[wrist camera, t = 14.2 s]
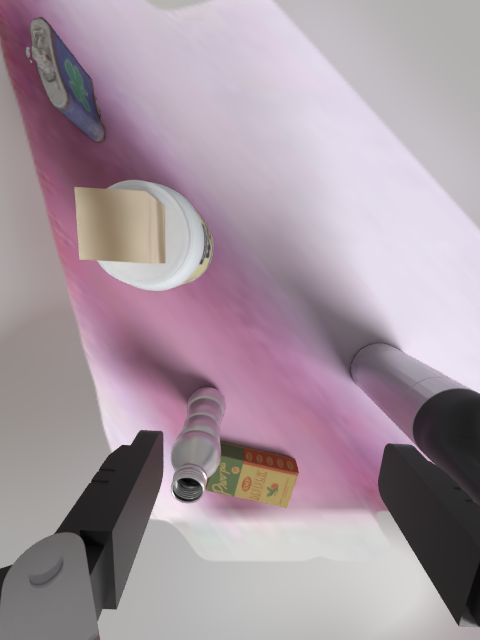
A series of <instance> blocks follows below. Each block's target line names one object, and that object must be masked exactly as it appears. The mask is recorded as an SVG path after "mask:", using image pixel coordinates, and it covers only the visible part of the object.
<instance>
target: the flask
mask: <svg viewBox="0 0 480 640" xmlns="http://www.w3.org/2000/svg"><path fill="white" fill-rule="evenodd" d="M30 32H31V37H32V51H31V52H32V58H33V59H34V60H35V61H36V66H37V69H38V72H39V75H40V78H41V81H42V83H43V86H44V88H45V90H46V93H47V95H48V98H49V99H50V102H51V103H52V105H53V106H54V107H55V108H56V109H57V110H59V111H60V112H61V113H62V114H63V115H65V116H66V117H67V118H68V119H69V120H70V121H72V122H73V123H74V124H75V125H76V126H78V127H79V128H80V129H81V130H82V131H83V132H84V133H85V134H86V135H88V136H89V137H90V138H91V139H92V140H93V141H96V142H101V141H103V140H104V137H105V131H104V126H103V125H102V122H101V118H100V116H101V114H100V110H99V107H98V106H97V104H96V102H95V100H96V99H97V98H96V97H95V96H94V88H93V83H92V79H91V77H90V76H89V75H88V74H87V73H86V72H85V70H84V69H83V68H82V66H81V65H80V64H79V63H78V61H77V60H76V58H75V57H74V56H73V54H72V53H71V52H70V51H69V49H68V48H67V47H66V45H65V44H64V43H63V42H62V40H61V39H60V37H59V36H58V35H57V34H56V32H55V31H54V29H53V28H52V27H51V25H50V24H49V23H48V22H47V21H46V20H45V19H44V18H42V17H39V18H35V19H34V20H33V21H32V22H31V26H30ZM29 50H30V48H29V47H26V56H27V57H28V58H29V57H30V52H29ZM29 61H30V62H31V63H32V61H31V60H29Z"/></svg>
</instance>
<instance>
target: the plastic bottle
mask: <svg viewBox="0 0 480 640" xmlns="http://www.w3.org/2000/svg"><path fill="white" fill-rule="evenodd" d="M225 409H226V404H225V400H224V397H223V395H222V394H221V393H220V392H219V391H218V390H217V389H214V388H211V387H202V388H199V389H197V390H196V391H195V392H194V393H193V394H192V395H191V397H190V398H189V400H188V406H187V417H186V421H185V424H184V426H183V428H182V431H181V432H180V434H179V436H178V437H177V439H176V441H175V443H174V445H173V447H172V450H171V463H172V466H173V468H174V471H175V473H174V476H173V482H172V485H171V493H172V495H173V496H174V498H175V499H177V500H178V501H180V502H183V503H193V502H196V501H198V500H199V499H200V498H201V497H202V496H203V494H204V490H205V486H206V483H207V478H209V477H210V476H211V475H212V474H213V473H214V472H215V471H216V469H217V468H218V466H219V464H220V461H221V446H220V437H219V436H220V424H221V420H222V418H223V416H224V413H225Z"/></svg>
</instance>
